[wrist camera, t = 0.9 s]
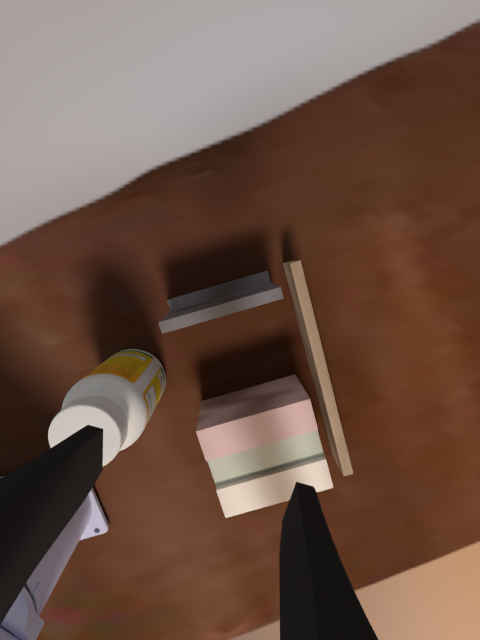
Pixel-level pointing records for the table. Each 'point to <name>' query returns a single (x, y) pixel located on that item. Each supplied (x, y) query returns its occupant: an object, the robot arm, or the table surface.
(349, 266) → the table surface
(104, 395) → the supplement bottle
